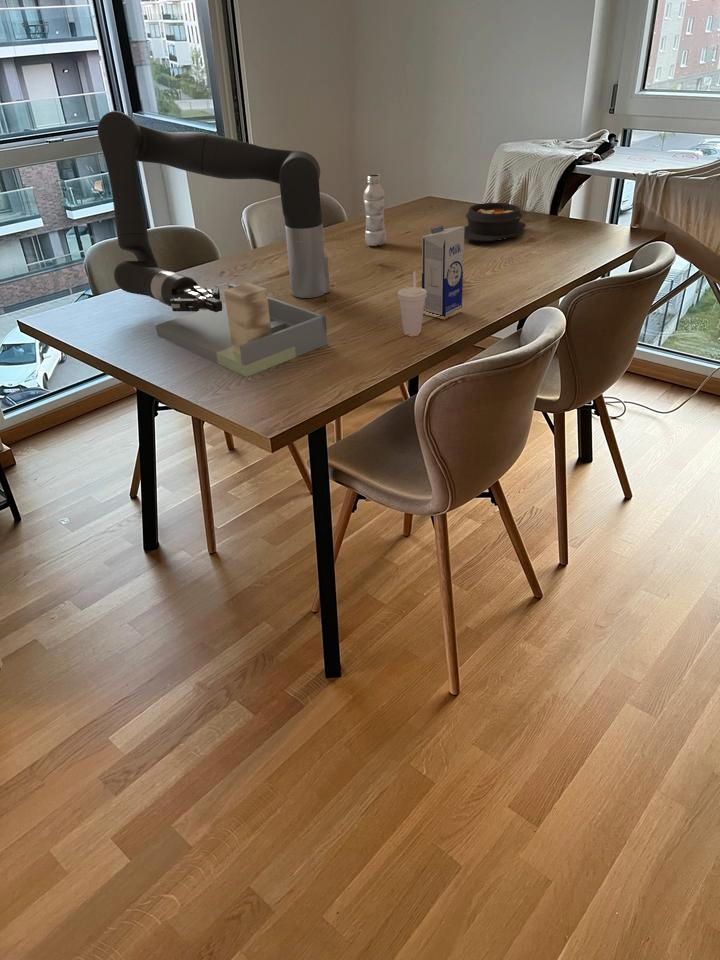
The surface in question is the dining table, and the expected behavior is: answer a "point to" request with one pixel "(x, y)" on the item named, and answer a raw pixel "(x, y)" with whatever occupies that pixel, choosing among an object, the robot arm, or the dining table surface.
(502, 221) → the casserole
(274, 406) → the dining table surface
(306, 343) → the trap deck
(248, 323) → the maple block
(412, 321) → the smoothie
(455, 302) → the milk carton
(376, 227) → the plastic bottle
